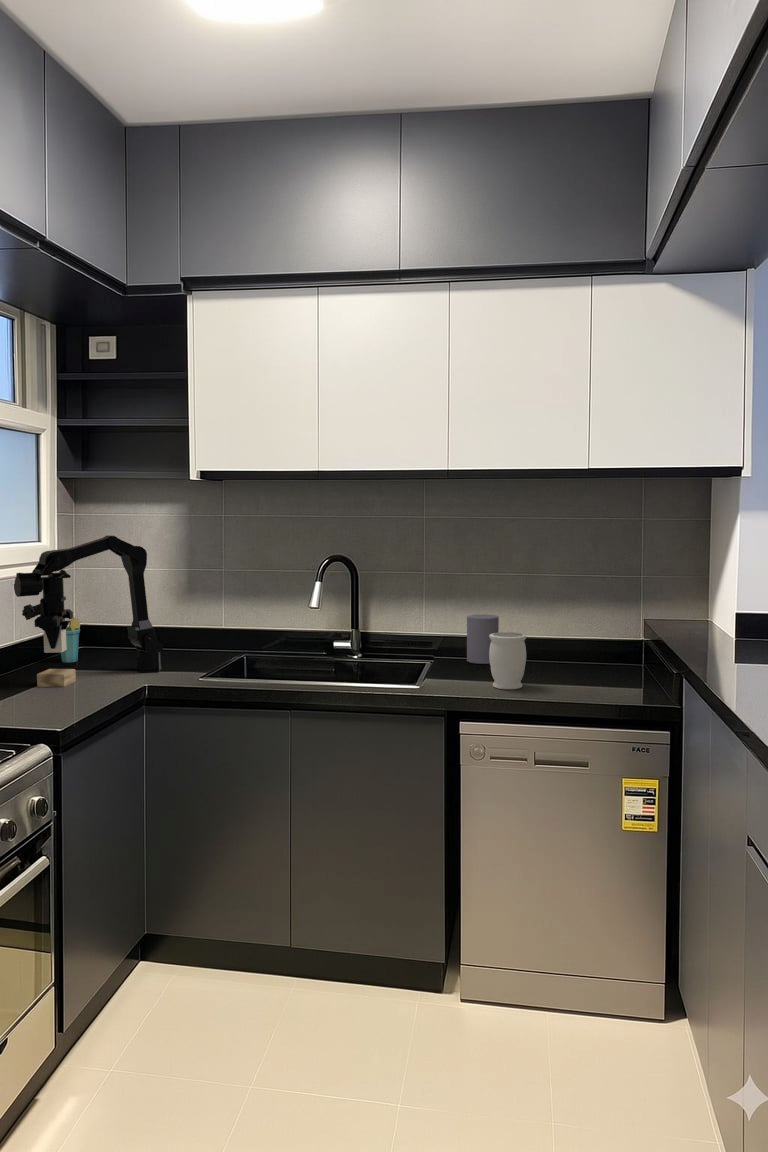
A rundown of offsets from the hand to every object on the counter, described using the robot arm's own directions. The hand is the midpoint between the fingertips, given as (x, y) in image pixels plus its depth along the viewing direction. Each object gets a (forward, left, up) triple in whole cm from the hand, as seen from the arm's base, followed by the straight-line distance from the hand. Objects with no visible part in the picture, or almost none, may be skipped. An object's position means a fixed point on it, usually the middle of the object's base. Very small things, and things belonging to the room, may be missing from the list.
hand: (55, 647), depth 257 cm
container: (-131, -18, -11) cm, 133 cm away
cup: (+6, -37, -11) cm, 39 cm away
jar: (-130, +21, -11) cm, 132 cm away
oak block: (0, 0, -11) cm, 11 cm away
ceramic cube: (0, 0, -1) cm, 1 cm away
